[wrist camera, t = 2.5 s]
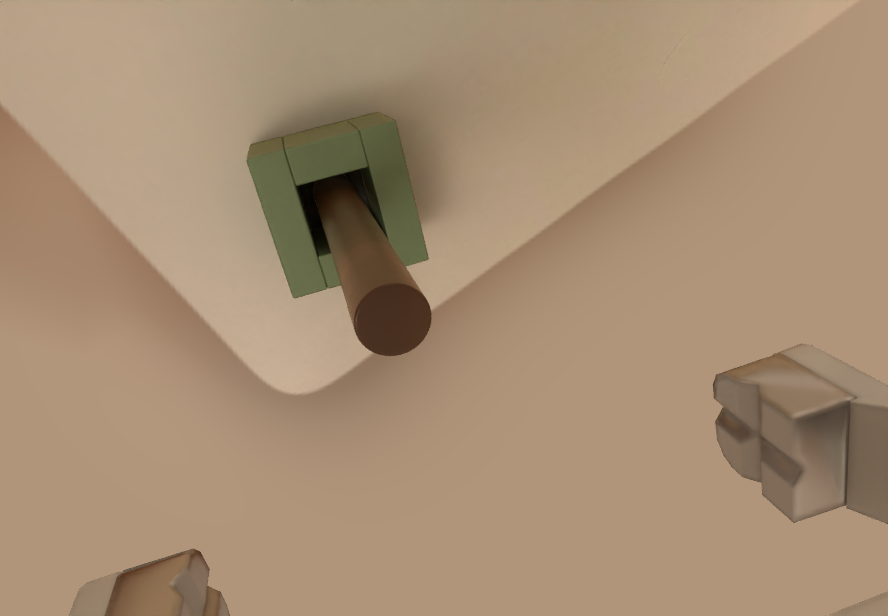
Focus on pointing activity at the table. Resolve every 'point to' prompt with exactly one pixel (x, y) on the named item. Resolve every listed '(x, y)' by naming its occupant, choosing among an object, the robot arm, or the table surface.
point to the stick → (370, 272)
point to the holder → (327, 155)
